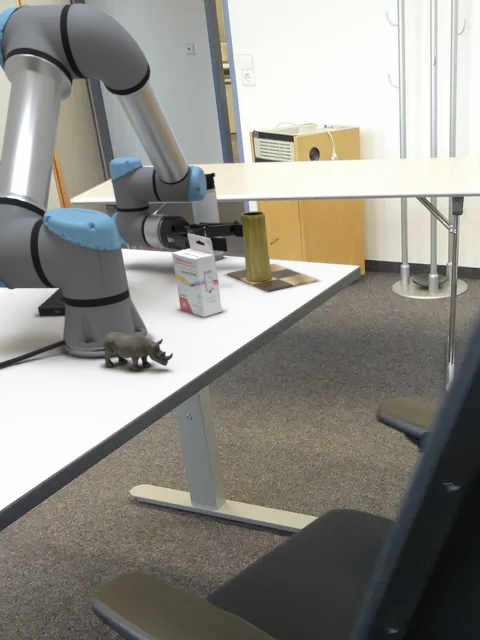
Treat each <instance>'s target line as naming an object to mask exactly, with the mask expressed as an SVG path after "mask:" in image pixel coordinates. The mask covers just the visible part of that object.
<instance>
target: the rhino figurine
mask: <svg viewBox="0 0 480 640" xmlns="http://www.w3.org/2000/svg"><path fill="white" fill-rule="evenodd" d="M163 340H164V338H161V339H160V340H158V341H155V340H152V339H150V338H149V337H148V338H147V337H145V336H143V335H139V334H137V335H133V336H130V335H125V334H123V333H119V332H109V333H108V334H107V335H106V337H105V340H104V350H105V354H104V357H103V358H104V366H105V367H113V366H114V362H113V361H112V360H111V358H112V356H111V355H113V354H114V352H115V355H114V356H116V357H117V361H118V363H120V364H127V363H128V362H129V360H128V359H131V362H132V364H131V369H132V371H140V369H141V367H140V365H139V361H140V359H141V365H142V367H146V368H147V367H151V366H152V363H151V362H149V361H148V357H149V359H150V360H151V361H152V362H155V363H157V364H159V365H161V366H164V367H167V366H168V363H169V361H170V360H171V359H172V358H173V355H174V353H173V352H171V353H170V354H169V355H166V353H167V352H166V351H164V350H162V349H161V346H160V345H161V344H162V343H163Z"/></svg>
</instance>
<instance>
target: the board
mask: <svg viewBox="0 0 480 640" xmlns="http://www.w3.org/2000/svg"><path fill="white" fill-rule="evenodd" d="M270 268H271V274H272V278H271V279H270V280H267V281H261V282H252V281H248V280H247V279H246V269H242V270H241V269H240V270H236V271H232V272H231V271H230V272H227V276H230V277H232V278H234V279H237V280H239V281H242V282H244V283H246V284H248V285H251V286H253V287H256V288H259V289H261V290H263V291H266V292H268V293H269V292H273V291H278V290H284V289H287V288H292V287H297V286H300V285H305V284H310V283H315V282H317V280H318V279H317V278H314V277H311V276H308V275H306V274H303V273H300V272H298V271H295V270H292V269H289V268H286V267H284V266H281V265H278V264H275V263H270Z"/></svg>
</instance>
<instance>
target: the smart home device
mask: <svg viewBox="0 0 480 640" xmlns="http://www.w3.org/2000/svg"><path fill="white" fill-rule="evenodd" d="M65 309H66V308H65V302H64V298H63V294H62V291H61V289H60V288H57V290H56V291H55V292H53V293H52V294H51V295H50V296H49V297H48V298H47V299H46V300H45V301H43V302H42V303H41V304H40V305H39V306H38V307H37V310H38V311H37V312H38V315H39V317H48V316H51V317H52V316H53V317H55V316H65Z"/></svg>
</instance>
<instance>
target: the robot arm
mask: <svg viewBox="0 0 480 640" xmlns="http://www.w3.org/2000/svg"><path fill="white" fill-rule="evenodd" d="M0 67H1V69H2V71H3V72H4V74H5V77H6V78H7V81H8V82H9V83H10V91H9V100H8V104H7V105H8V106H7V113H6V119H5V127H4V133H3V134H4V135H3V139H2V140H3V141H2V148H1V155H0V289H8V290H15V289H59V288H60V289H61V291H62V294H63V298H64V302H65V308H66V309H65V315H64V321H63V333H62V334H63V335H62V337H63V338H62V340H60V341H57V342H54V343H52V344H49V345H46V346H43V347H41V348H37V349H35V350H32V351H30V352H28V353H25V354H22V355H19V356H17V357H13V358H10V359H7V360H3V361H1V362H0V369H1V368H4V367H7V366H10V365H13V364H16V363H20V362H22V361H25V360H28V359H30V358H33V357H35V356H38V355H41V354H43V353H46V352H49V351H52V350H55V349H58V348H60V347H64V349H65V351H66V353H68V354H69V355H71V356H76V357H82V358H105V357H104V354H105V350H104V340H105V337H106V335H107V334H108V333H109V332H119V333H123V334H125V335H130V336H133V335H137V334H139V335H143V336H145V337H147V338H149V334H148V328H147V326H146V325H145V322H144V321H143V319H142V317H141V315H140V314H139V311H138V310H137V308H136V305H135V304H134V301H133V300H132V297H131V294H130V287H129V283H128V282H129V281H128V276H127V272H126V266H125V261H124V256H123V250H122V244H123V245H128V246H132V247H149V248H159V250H160V251H164V250H165V249H169V250H176V251H181V250H185V249H189V248H190V244H189V240H188V236H187V234H188V233H189V234H193V235H198V236H202V237H206V238H210V239H211V242H212V247H213V250H214V251H223V253H224V252H228V243H227V238H226V237H229V236H230V237H231V236H235V237H237V238H243V228H242V223H240V221H238V220H236V219H234V221H227V222H226V221H225V222H220V223H203V222H201V223H199V224H196V223H195V222H194V223H189V222H188V221H187V219H186V218H185V217H184V216H182V215H171V214H170V215H169V214H159V213H151V212H150V204H149V203H168V202H169V203H192V201H201V200H203V199H204V198H205V195H206V189H207V185H206V177H205V174H206V173H205V171H204V170H203V168H201V166H197V165H196V166H195V165H191V166H190V164H189V163H188V160H187V159H186V157H185V154H184V152H183V149H182V147H181V145H180V143H179V141H178V138H177V136H176V134H175V132H174V130H173V127H172V125H171V123H170V120H169V119H168V117H167V114H166V112H165V110H164V108H163V105H162V103H161V100H160V98H159V97H158V94H157V92H156V90H155V88H154V85H153V83H152V81H151V75H152V72H151V66H150V64H149V62H148V60H147V57H146V55H145V53H144V51H143V50H142V48H141V47H140V45H139V44H138V42H137V40H136V39H135V38H134V37H133V36H132V35H131V33H130V32H129V31H128V30H127V29H126V28H125V27H124V26H123V25H122V24H121V23H120V22H119V21H117V20H116V19H115V18H113V17H112V15H110V14H108V13H107V12H105V11H104V10H102V9H100V8H98V7H96V6H93V5H90V4H86V3H72V4H43V5H41V4H40V5H30V4H29V5H28V4H22V5H18V6H14V7H13V6H12V7H8V8H5V9H3V11H1V12H0ZM83 79H85V80H86V79H94V80H99V81H101V82H102V83H103V85H104V87H105V89H106V91H108V92H109V93H110V94H112V95H114V96H115V97H116V99H117V101H118V102H119V105H120V106H121V108H122V110H123V112H124V114H125V116H126V117H127V119H128V122H129V123H130V126H131V128H132V129H133V131H134V133H135V135H136V136H137V139H138V140H139V142H140V145H141V147H142V148H143V150H144V152H145V154H146V155H147V158H148V159H149V161H150V163H151V165H152V166H144V164H143V162H142V160H141V158H140V157H136V156H135V157H133V156H126V157H117V158H114V159H113V158H112V159H111V160H110V162H109V172H110V179H111V180H110V182H111V184H112V185H111V186H112V189H113V195H114V199H115V205H116V212H114V214H113V215H112V216H109V215H108V214H107V213H104V212H102V211H99V210H95V209H89V208H80V207H70V208H66V207H62V208H53V209H49V210H48V205H49V197H50V190H51V182H52V175H53V166H54V160H55V159H54V158H55V152H56V144H57V136H58V128H59V120H60V114H61V113H60V112H61V106H62V105H61V104H62V102H64V101H66V100H67V99H68V98H69V97H70V96H71V94H72V87H73V82H74V80H83ZM205 235H207V236H205ZM220 236H221V238H218V237H220ZM196 243H197V244H200V245H204V243H203V242H201V241H200V240H199V241H196ZM114 356H116V355H115V352H114V354H113V355H111V357H114Z"/></svg>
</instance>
